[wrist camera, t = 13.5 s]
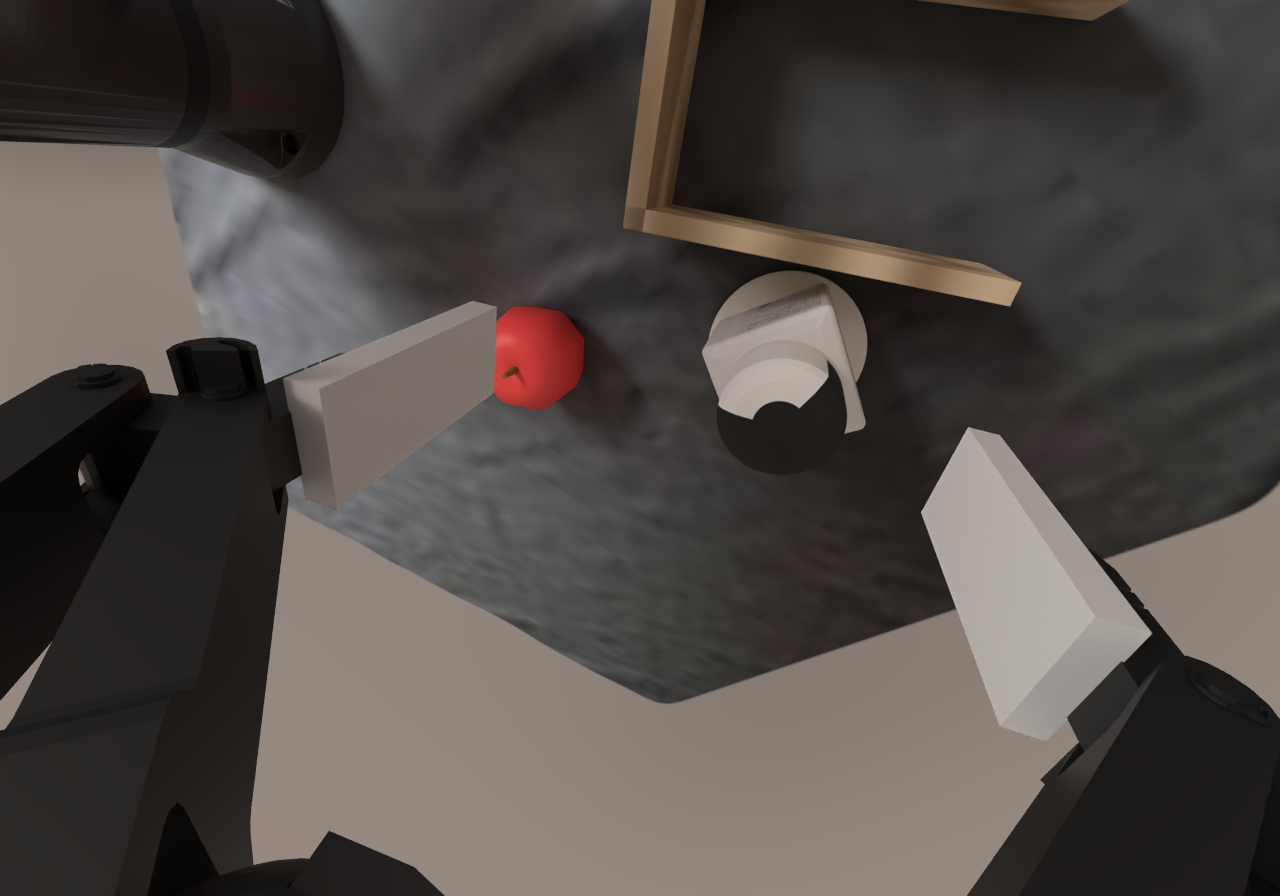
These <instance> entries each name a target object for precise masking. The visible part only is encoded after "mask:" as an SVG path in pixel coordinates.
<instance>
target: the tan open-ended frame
mask: <svg viewBox="0 0 1280 896" xmlns="http://www.w3.org/2000/svg"><path fill="white" fill-rule="evenodd" d="M918 1H927V2H935V3H944V4H952V5H961V6H969V7H978V8H986V9H995V10H1003V11H1012V12H1020V13H1029V14H1037V15H1046V16H1054V17H1063V18H1071V19H1080V20H1088V21H1093V20H1095V19H1097V18H1099V17H1100V16H1102V15H1104V14H1106V13H1108V12H1110V11H1111V10H1113V9H1115V8H1117V7H1119V6H1121V5H1122V4H1124V3H1126V2H1128V1H1130V0H918ZM705 4H706V0H652V2H651V10H650V18H649V26H648V34H647V42H646V49H645V57H644V65H643V73H642V81H641V89H640V96H639V104H638V112H637V120H636V128H635V136H634V144H633V151H632V159H631V167H630V175H629V183H628V191H627V199H626V206H625V214H624V222H623V228H626V229H631V230H636V231H641V232H646V233H651V234H656V235H661V236H666V237H671V238H676V239H680V240H685V241H690V242H695V243H700V244H705V245H710V246H715V247H720V248H725V249H730V250H735V251H739V252H744V253H749V254H754V255H759V256H764V257H769V258H774V259H779V260H784V261H789V262H794V263H799V264H803V265H808V266H813V267H818V268H823V269H828V270H833V271H838V272H843V273H848V274H853V275H858V276H863V277H867V278H872V279H877V280H882V281H887V282H892V283H897V284H902V285H907V286H912V287H917V288H922V289H927V290H931V291H936V292H941V293H946V294H951V295H956V296H961V297H966V298H971V299H976V300H981V301H986V302H990V303H995V304H1000V305H1005V306H1010V305H1011V303H1012V301H1013V299H1014V297H1015V295H1016V293H1017V291H1018V289H1019V287H1020V285H1021V282H1019V281H1016V280H1014V279H1012V278H1010V277H1008V276H1006V275H1004V274H1002V273H1000V272H998V271H996V270H994V269H992V268H990V267H988V266H985V265H983V264H981V263H976V262H970V261H965V260H960V259H955V258H950V257H944V256H939V255H934V254H929V253H924V252H919V251H913V250H908V249H903V248H898V247H893V246H887V245H882V244H877V243H872V242H867V241H861V240H856V239H851V238H846V237H841V236H835V235H830V234H825V233H820V232H815V231H809V230H804V229H799V228H794V227H789V226H783V225H778V224H773V223H768V222H763V221H757V220H752V219H747V218H742V217H737V216H731V215H726V214H721V213H716V212H711V211H705V210H700V209H695V208H690V207H685V206H679V205H674V204H672V201H673V195H674V189H675V183H676V177H677V171H678V165H679V159H680V153H681V147H682V141H683V135H684V129H685V123H686V117H687V111H688V105H689V99H690V93H691V87H692V81H693V75H694V69H695V63H696V57H697V51H698V46H699V40H700V34H701V28H702V22H703V16H704V10H705Z"/></svg>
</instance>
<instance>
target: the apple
mask: <svg viewBox="0 0 1280 896" xmlns="http://www.w3.org/2000/svg"><path fill="white" fill-rule="evenodd" d="M584 343H585V339H584V338H583V336H582V335H581V334H580V333H579V331H578V330H577V329H576V327H575V326H574V325H573V323H572V322H571V321H570V320H569V318H568V317H567V316H566V314H565V313H564V312H562V311H557V310H551V309H546V308H540V307H534V306H516V307H511V308H510V309H509V310H508V311H507V312H506V313H505V314H504V315H503V316H501V317H500V318H499V319H498V320H497V321H496V344H495V374H494V393H495V394H496V396H497V397H498V398H499V399H500V400H501V401H502V402H504V403H507V404H512V405H516V406H521V407H525V408H530V409H534V410H542V409H544V408H547V407H549V406H550V405H552V404H553V403H554V402H556V401H557V400H558V399H560V398H561V397H562V396H564V395H565V394H567V393H568V392H569V391H571V390H572V389H573V388H575V387H576V385H577V383H578V380H579V378H580V376H581V374H582V372H583V361H584Z"/></svg>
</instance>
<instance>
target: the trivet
mask: <svg viewBox="0 0 1280 896" xmlns="http://www.w3.org/2000/svg"><path fill="white" fill-rule="evenodd" d="M821 283H825V284H827V285H828V287H829V290H830V293H831V297H832V300H833V304H834V307H835V311H836V315H837V318H838V322H839V325H840V329H841V332H842V336H843V339H844V343H845V346H846V350H847V353H848V357H849V360H850V364H851V368H852V371H853V375H854V378H855V382H857V380H858V378H859V376H860V374H861V372H862V370H863V366H864V363H865V360H866V354H867V333H866V328H865V324H864V321H863V318H862V316H861V313H860V311H859V309H858V307H857V306H856V304H855V302H854V301H853V299H852V298H851V297H850V296H849V295H848V294H847V293H846V291H844V290H843V289H842V288H841V287H840V286H838V285H837V284H836V283H834V282H832V281H831V280H829V279H827V278H825V277H823V276H820V275H818V274H814V273H811V272H806V271H799V270H784V271H776V272H772V273H768V274H764V275H762V276H759V277H757V278H754V279H753V280H751V281H749V282H747V283H746V284H744V285H743V286H741V287H740V288H739V289H737V290H736V291H735V292H734V293H733V294H732V295H731V296H730V297H729V298H728V299H727V301H726V302H725V303H724V304H723V306H722V307H721V309H720V310H719V312H718V314H717V315H716V317H715V320H714V322H713V324H712V327H711V331H710V334H709V338H710V336H711V335H712V333H713V331H714V330H715V328H716V326H717V324H718V323H719V321H721V320H722V319H725V318H728V317H731V316H733V315H736V314H739V313H742V312H744V311H747V310H750V309H752V308H755V307H758V306H761V305H763V304H766V303H769V302H772V301H774V300H777V299H780V298H783V297H785V296H788V295H791V294H794V293H796V292H799V291H802V290H805V289H807V288H810V287H813V286H815V285H818V284H821Z"/></svg>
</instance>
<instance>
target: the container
mask: <svg viewBox="0 0 1280 896" xmlns="http://www.w3.org/2000/svg"><path fill="white" fill-rule="evenodd" d="M702 355H703V358H704V360H705V363H706V366H707V368H708V371H709V374H710V376H711V379H712V381H713V384H714V387H715V389H716V392H717V395H718V397H719V403H718V408H717V425H718V430H719V433H720V436H721V438H722V440H723V443H724V444H725V446H726V447H727V449H728V450H729V451H730V452H731V453H732V455H733V456H734V457H736V458H737V459H738V460H739V461H740V462H742V463H743V464H745V465H746V466H748V467H750V468H752V469H755V470H758V471H760V472H764V473H768V474H776V475H789V474H796V473H800V472H804V471H806V470H809V469H812V468H814V467H815V466H817V465H819V464H821V463H822V462H823V461H825V460H826V459H827V458H828V457H829V456H830V455H831V454H832V453H833V452H834V451H835V450H836V449H837V447H838V446H839V444H840V442H841V440H842V439H843V436H844V434H845V433H849V432H853V431H857V430H861V429H863V428H864V426H865V424H866V421H865V417H864V413H863V409H862V405H861V401H860V397H859V393H858V389H857V386H856V382H855V378H854V375H853V371H852V368H851V364H850V360H849V357H848V353H847V350H846V346H845V343H844V339H843V336H842V332H841V329H840V325H839V322H838V318H837V315H836V311H835V307H834V304H833V300H832V297H831V293H830V290H829V287H828V285H827V284H825V283H821V284H818V285H815V286H813V287H810V288H807V289H805V290H802V291H799V292H796V293H794V294H791V295H788V296H785V297H783V298H780V299H777V300H774V301H772V302H769V303H766V304H763V305H761V306H758V307H755V308H752V309H750V310H747V311H744V312H742V313H739V314H736V315H733V316H731V317H728V318H725V319H722V320H721V321H719V323H718V324H717V326H716V328H715V330H714V331H713V333H712V335H711V336H710V338H709V340H708V341H707V343H706V345H705V347H704V348H703V350H702Z"/></svg>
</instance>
